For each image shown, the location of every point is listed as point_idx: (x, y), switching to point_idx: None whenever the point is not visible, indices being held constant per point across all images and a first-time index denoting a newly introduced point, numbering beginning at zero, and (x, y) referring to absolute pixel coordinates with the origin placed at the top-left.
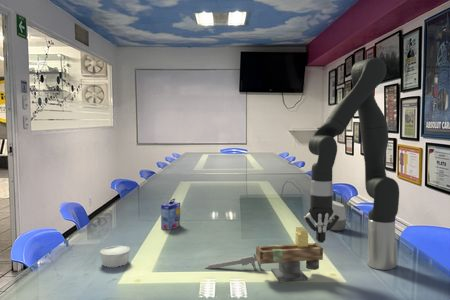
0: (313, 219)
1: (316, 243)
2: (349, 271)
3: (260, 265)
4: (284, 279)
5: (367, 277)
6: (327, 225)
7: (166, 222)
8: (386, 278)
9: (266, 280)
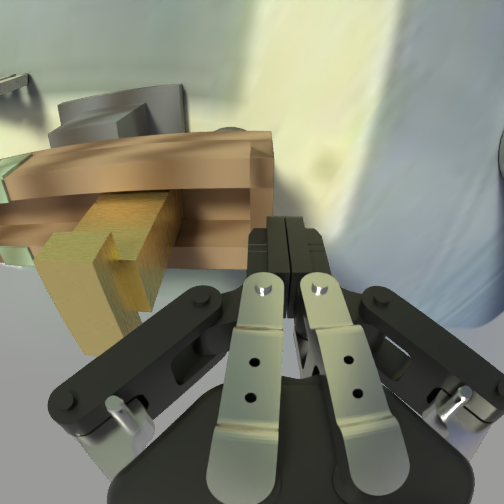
0: (191, 410)
1: (269, 172)
2: (409, 158)
3: (19, 87)
4: None
5: (428, 223)
6: (381, 329)
7: None
8: (469, 242)
9: None
